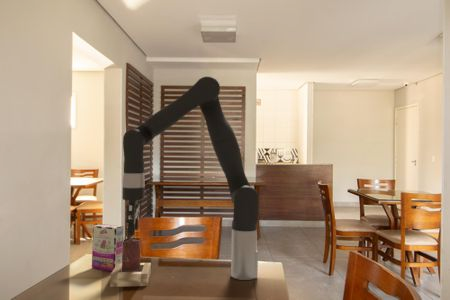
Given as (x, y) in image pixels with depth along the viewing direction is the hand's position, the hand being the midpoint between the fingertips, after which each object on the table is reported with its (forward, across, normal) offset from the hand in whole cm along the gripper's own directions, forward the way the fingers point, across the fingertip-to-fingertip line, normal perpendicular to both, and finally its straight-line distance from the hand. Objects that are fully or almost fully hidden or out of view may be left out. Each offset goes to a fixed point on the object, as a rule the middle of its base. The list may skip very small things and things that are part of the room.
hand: (133, 232), depth 118 cm
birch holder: (+17, 0, 0) cm, 17 cm away
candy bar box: (+17, +13, +11) cm, 24 cm away
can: (+17, 0, 0) cm, 17 cm away
